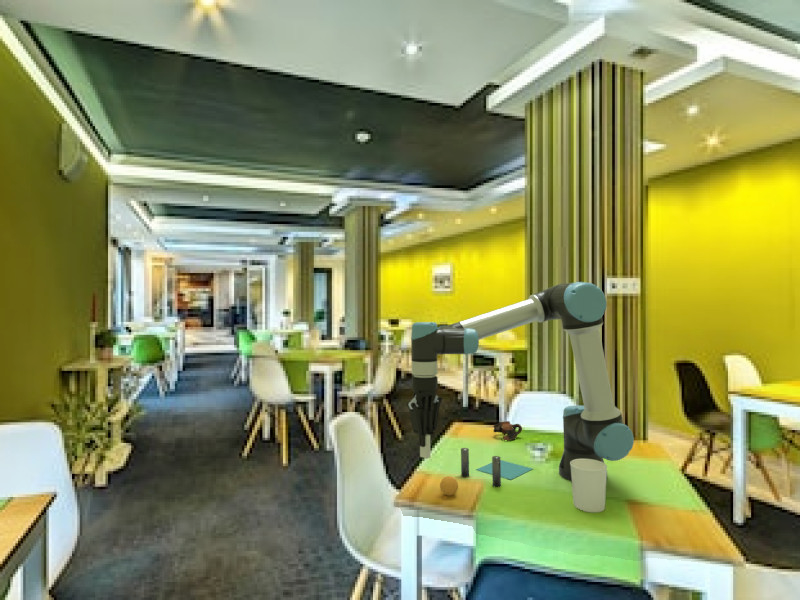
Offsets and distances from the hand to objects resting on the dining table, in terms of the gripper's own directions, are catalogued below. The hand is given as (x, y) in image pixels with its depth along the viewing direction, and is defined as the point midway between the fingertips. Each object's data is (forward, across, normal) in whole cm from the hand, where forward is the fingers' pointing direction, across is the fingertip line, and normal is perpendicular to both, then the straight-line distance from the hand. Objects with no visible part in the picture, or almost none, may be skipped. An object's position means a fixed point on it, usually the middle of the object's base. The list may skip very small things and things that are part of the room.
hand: (425, 456), depth 139 cm
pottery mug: (+14, -74, -20) cm, 78 cm away
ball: (+11, -10, 0) cm, 15 cm away
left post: (+14, -26, -6) cm, 30 cm away
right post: (+14, -26, +6) cm, 30 cm away
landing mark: (+14, -40, 0) cm, 43 cm away
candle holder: (+14, -31, +34) cm, 48 cm away
